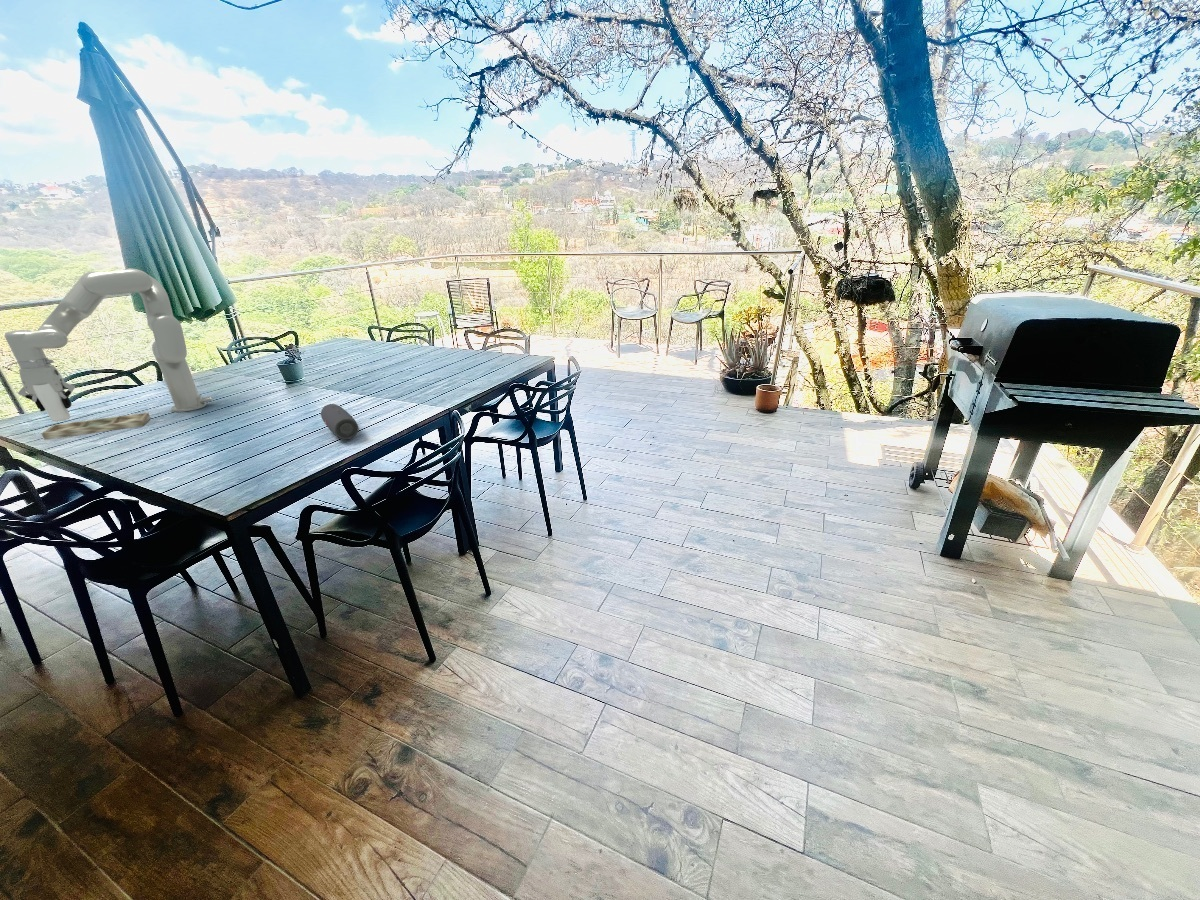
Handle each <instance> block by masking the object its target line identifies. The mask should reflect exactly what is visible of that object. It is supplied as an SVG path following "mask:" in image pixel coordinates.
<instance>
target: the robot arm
mask: <svg viewBox="0 0 1200 900" xmlns="http://www.w3.org/2000/svg"><path fill="white" fill-rule="evenodd" d="M135 293H137V294H138V295H140V298H141V299H142V303H143V306H144V311H145V315H146V321H147V326H148V328H149V329H150V331H152V334H153V338H154V342H153V343H152V345H151V351H152V354H153V355H154V358H155V360H156V362H157V364H158V367H159V368H160V372H161V373H162V377H163V380H164V382H165V384H166V386H167V389H168V392H169V393H170V394H169V395H170V396H171V397H170V398H171V400H172V402H173V406H172V407H171V408H170V409H171V411H172V412H176V413H181V412H183V413H184V412H191V411H196V410H198V409H203V408H205V407H206V406H207V403H209V402H213V397H212V396H206V397H204V396H202V394H199V392H198V390H197V389H198V388H197V386H196V383H195V380H194V377H193V375H192V372H191V369H190V367H189V365H188V361H187V360H186V359H187V354H188V351H187V345H186V340H185V339H186V338H185V336H184V330H183V327H182V324H181V322H180V321H179V320H178V319H177V318H176V317H175V316H174V313H173V309H172V306H171V305H172V304H171V302H170V297H169V295H168V293H167V291H166V289H165V288H164V287H163V286H162V284H161V283H160V282H159V281H158V280H157V279H155V278H154V277H153V276H151V275H150V274H148V273H147V272H146V271H143V270H141V269H136V268H132V267H129V268H125V269H123V270H116V271H115V270H114V271H92V270H91V271H87V272H85V273H83V274H82V275H81V277H79V279H78V280H77V281H76V282H75V284H74V285H73V286H72V288H71V289H70V290H69V291H68V293H66V295H65V296H64V297H63V298H62V299H61V300H60V301H59V303H58V304H57V306H56V307H55V308H54V309H53V311H52V312H51V313H50V314H49V315H48V316H47V317H46V318H45V320H44V322H42V324H41V325H40V326H39V327H38V328H37V330H33V331H32V330H30V329H20V330H19V329H18V330H10V331H6V332H5V333H4V338H5V340H6V342H7V344H8V346H9V348H10V350H11V352H12V354H13V356H14V358H15V360H16V362H17V364H18V365H19V371H18V373H19V377H20V380H21V383H22V385H23V386H22V388H21V389H20V390H19V391H18V392H17V394H18V395H20V396H21V397H24V398H26V399H29V400H30V401H32V402H34V404H35V406H37V409H38V410H39V411H40V412H44V411H46V410H45V408H44V407H43V405H42V404H41V402H40V401H39V399H38V398H37V396H36V393H35V391H34V388H33V385H44V384H50V386H51V387H52V388H53V390H54V391H55V392H58V394H59V395H60V396H61V397H62V399H61V400H62V402H63V404H64V406H65V408H67V409H70V408H71V407H72V402H71V400H70V398H69V397H70V396H71V394H72V393H73V392H74V390H75V389H76V386H75V385H73V384H70V383H68V382H65V381H66V380H64V378H63V377H62V374H61V373H60V372H59V371H58V369H57V368H56V367H55V365H53V364H54V360H53V359H50V358H48V357H47V356H46V354H45V351H44V349H48V350H49V349H53V350H54V349H55V350H56V349H61V348H64V347H65V346H66V345H67V344H68V341H69V339H68V336H69V335H70V334H71V333H72V331H73V330H74V328H76V327H77V325H79V323H80V322H82V321H83V320H85V319H87V318H89V317H90V316H91V315H92V314H93V312H95V310H96V309H97V308H98V306H99V305H100V304H101V303H102V302H103V300H104V299H105V298H106V297H107V296H115V295H126V294H135ZM51 364H52V365H51ZM66 389H67V390H66Z"/></svg>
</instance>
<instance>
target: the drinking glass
mask: <svg viewBox="0 0 1200 900" xmlns="http://www.w3.org/2000/svg"><path fill="white" fill-rule="evenodd" d="M33 388H34V391H35V393H36V396H37V398H38V399H39V401H40V402H41V404H42V405H43V407H44V408H45V410H44V411H46V413H47V415H48V416H49V419H50V420H51V422H63V421H66V420H69V419H71V414H70V412H69V408H65V406H64V404H63V402H62V400H61V399H62V397H61V396H60V395H59V394H58V392H55V391H54V390H53V388H52V387H51V386H50V384H44V385H33Z"/></svg>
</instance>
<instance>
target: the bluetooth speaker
mask: <svg viewBox="0 0 1200 900" xmlns="http://www.w3.org/2000/svg"><path fill="white" fill-rule="evenodd" d="M320 417H321V419H322V421H323V423H324V424H325V426H326V427H327V428H328V429H329V431H331V433H333V434H334V435H335V436H336V437H338V438H340V439H342V440H351V439H353V438H355V437H356V436H357V434H358V433H359V430H360V429H359V424H358V423H357V420H355V419H354V417H353V416H352V415H351V414H350V413H349V412H348V411H347V410H346V409H345V408H343V407H342V406H340V405H338V404H337V403H328V404H326V405H324V406H323V408H322V409H321V410H320Z"/></svg>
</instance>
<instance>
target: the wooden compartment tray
mask: <svg viewBox="0 0 1200 900" xmlns="http://www.w3.org/2000/svg"><path fill="white" fill-rule="evenodd" d="M150 419H151V415H150V413H149V412H142V413H135V414H127V415H119V416H111V417H103V418H96V419H89V420H82V421H73V422H66V423H59V424H58V423H56V424H53V425H51V426H50V427H48V428H47V429H46V430H45V431H43V432H42V433H41V436H42V438H43V440H53V439H59V438H65V437H67V438H68V437H73V436H79V435H80V434H81V435H88V434H95V432H96V433H102V432H109V431H118V430H125V429H132V428H137V427H144V426H145V425H146V424H147V423H148V422H149V420H150Z"/></svg>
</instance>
